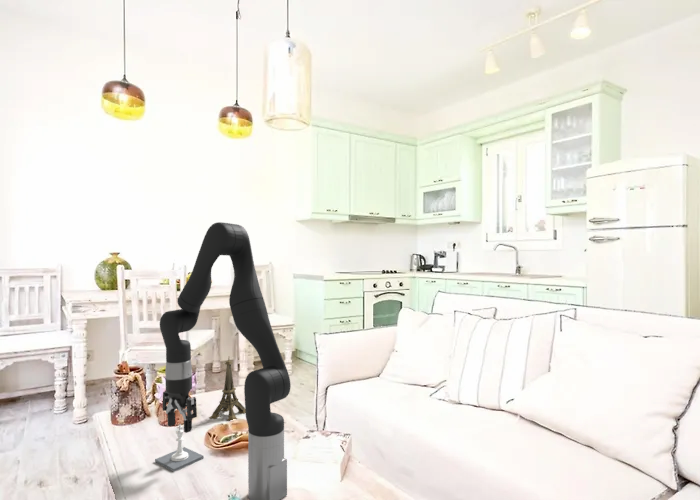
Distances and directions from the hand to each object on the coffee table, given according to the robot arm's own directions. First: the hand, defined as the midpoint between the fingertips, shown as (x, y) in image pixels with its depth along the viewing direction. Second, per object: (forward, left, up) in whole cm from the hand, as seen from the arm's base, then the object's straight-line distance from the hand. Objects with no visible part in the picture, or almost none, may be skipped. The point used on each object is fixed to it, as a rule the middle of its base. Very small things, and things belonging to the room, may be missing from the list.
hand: (179, 428), depth 133 cm
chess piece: (0, 0, -9) cm, 9 cm away
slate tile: (0, 0, -10) cm, 10 cm away
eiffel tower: (+18, -33, -10) cm, 38 cm away
